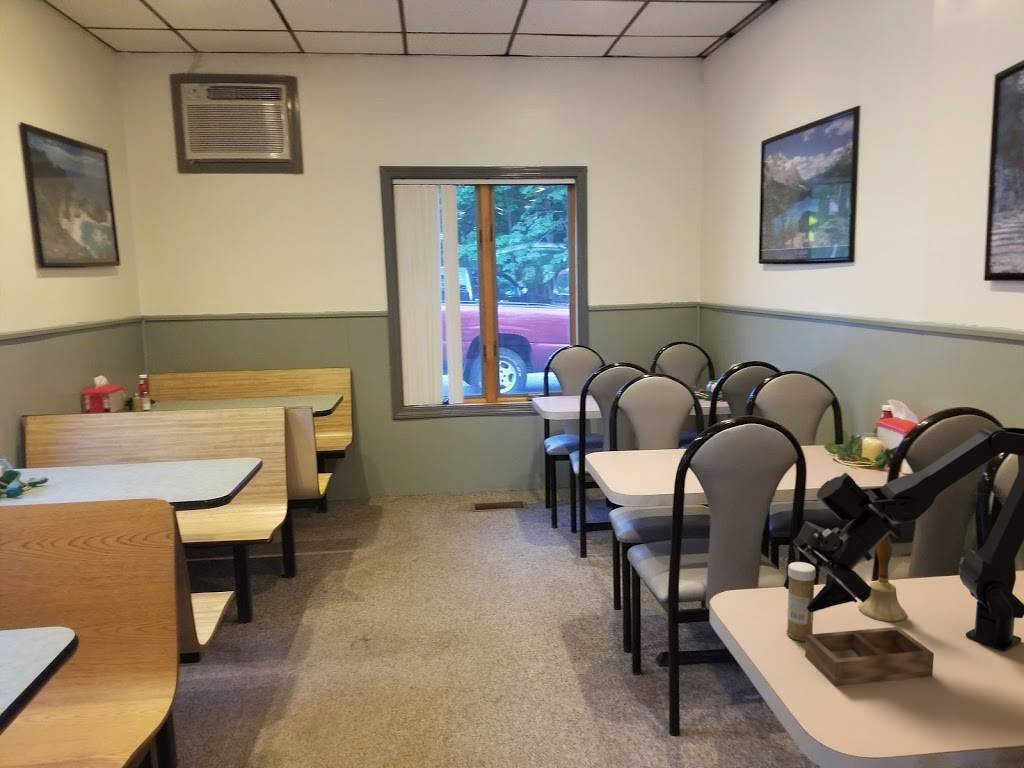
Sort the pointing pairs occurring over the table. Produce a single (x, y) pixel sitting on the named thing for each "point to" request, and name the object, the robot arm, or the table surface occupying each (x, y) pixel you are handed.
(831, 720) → the table surface
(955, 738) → the table surface
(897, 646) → the wooden compartment tray
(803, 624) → the sprinkles bottle
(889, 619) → the hand bell
